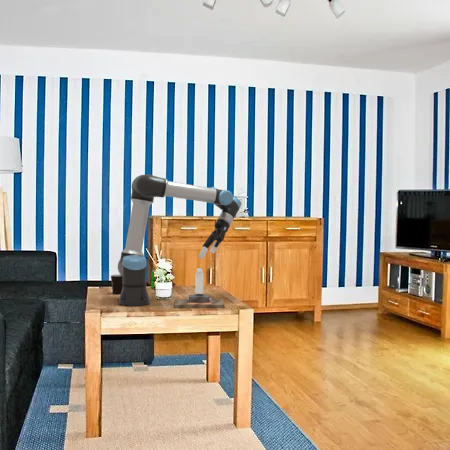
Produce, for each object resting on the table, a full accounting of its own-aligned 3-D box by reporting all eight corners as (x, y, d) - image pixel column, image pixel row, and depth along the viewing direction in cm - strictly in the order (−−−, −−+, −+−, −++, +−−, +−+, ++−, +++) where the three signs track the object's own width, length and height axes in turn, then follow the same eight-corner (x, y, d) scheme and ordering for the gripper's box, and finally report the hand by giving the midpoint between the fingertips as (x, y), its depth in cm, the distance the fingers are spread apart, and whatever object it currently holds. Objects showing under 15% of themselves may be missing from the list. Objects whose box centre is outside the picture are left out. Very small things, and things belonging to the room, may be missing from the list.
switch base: (173, 308, 299) (173, 298, 299) (175, 302, 317) (175, 293, 317) (224, 308, 300) (224, 298, 300) (223, 302, 318) (223, 293, 318)
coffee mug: (123, 294, 340) (123, 276, 340) (108, 294, 342) (108, 276, 342) (130, 291, 352) (130, 274, 351) (116, 291, 353) (116, 273, 353)
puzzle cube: (173, 288, 366) (173, 271, 365) (157, 290, 361) (157, 272, 360) (166, 286, 374) (166, 270, 374) (150, 287, 369) (150, 270, 369)
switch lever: (195, 293, 307) (195, 268, 312) (195, 294, 310) (195, 269, 314) (203, 293, 307) (203, 268, 312) (203, 294, 310) (203, 269, 314)
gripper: (240, 221, 324) (222, 254, 315) (218, 232, 345) (201, 263, 336) (229, 212, 322) (211, 245, 313) (207, 224, 343) (190, 255, 334)
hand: (206, 255), depth 324 cm, fingers open, 13 cm apart
